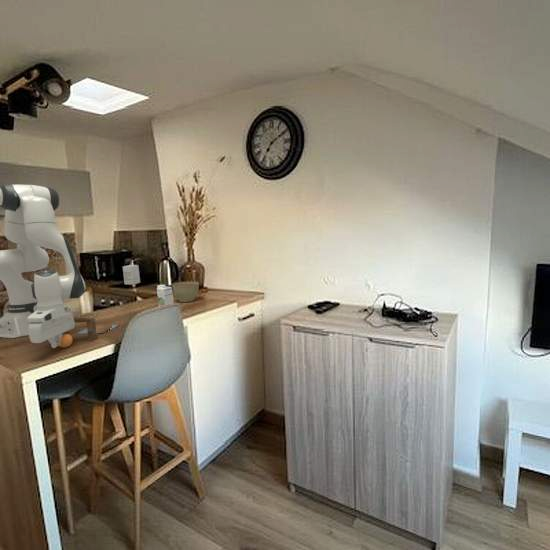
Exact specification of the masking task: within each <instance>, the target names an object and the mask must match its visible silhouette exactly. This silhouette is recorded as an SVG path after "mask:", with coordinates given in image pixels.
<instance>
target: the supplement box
mask: <svg viewBox="0 0 550 550" xmlns="http://www.w3.org/2000/svg"><path fill="white" fill-rule="evenodd" d="M122 272H123V273H122V274H123V275H122V276H123V281H124V285H133V286H134V285H137V284H139V283H141V278H140V269H139V264H129V265H124V266H122Z"/></svg>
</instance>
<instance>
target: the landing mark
mask: <svg viewBox="0 0 550 550" xmlns="http://www.w3.org/2000/svg"><path fill="white" fill-rule="evenodd" d="M111 325H112V328H110V331H111V330H114V329H115V328H117V327H118V325H119V324H111ZM116 326H117V327H116ZM108 332H109V330H108ZM87 333H88V331H87V328H85V329H83V330H81V331H79V332H77V333H76V335H88V334H87Z"/></svg>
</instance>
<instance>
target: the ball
mask: <svg viewBox="0 0 550 550" xmlns="http://www.w3.org/2000/svg"><path fill="white" fill-rule="evenodd" d="M60 342H61V345H60V346H59V347H60V348H68V347H69V346H71V345H72V344H73V337H72V335H71V334H70V335H69V334H62V338H61V341H60Z"/></svg>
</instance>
